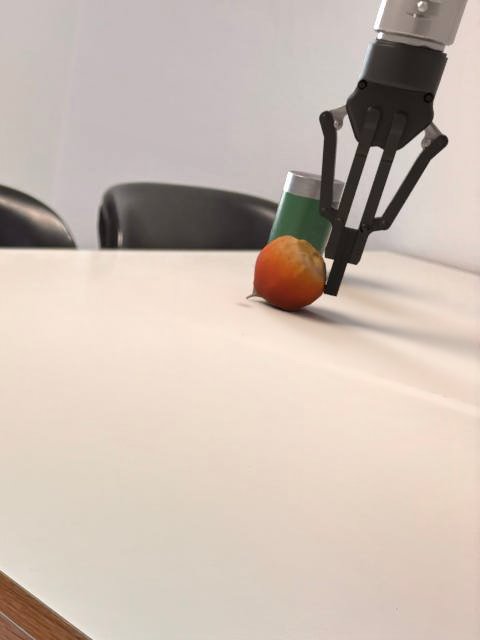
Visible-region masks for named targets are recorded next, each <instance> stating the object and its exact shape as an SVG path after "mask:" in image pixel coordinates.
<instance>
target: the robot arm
mask: <svg viewBox="0 0 480 640" xmlns="http://www.w3.org/2000/svg"><path fill="white" fill-rule="evenodd" d="M468 1H469V0H381V3H380V6H379V9H378V12H377V15H376V20H375V23H374V26H373V30H374V32H375V33H376V34H377V33H378V35H377V36H376V38H375V39H372V40H371V42H369V43H368V44H367V45H368V46H367V49H366V52H365V56H364V58H363V63H362V65H361V67H360V68H361V69H360V72H359V76H358V78H357V82H356V85H355V87H354V89H353V90H352V91H351V92H350V94H349V95H348V96H347V98H346V100H345V103H344V104H342V105H339V106H336V107H334V108H332V109H330V110H323V111H322V112H321V113H320V114H319V117H318V121H319V125H320V128H321V132H322V135H323V145H322V160H321V188H320V202H319V214H320V216H322V217H324V218H326V219H327V220H329V221H330V222H331V224H332V228H331V231H330V234H329V237H328V241H327V244H326V247H325V250H324V253H323V255H324V259H328V260H332V264H331V268H330V271H329V274H328V277H327V279H326V286H325V289H324V292H323V294H324V295H327V296H331V297H337V296H338V294H339V291H340V288H341V284H342V282H343V278H344V276H345V272H346V270H347V266H348V264H349V265H354V266H358V265H359V263H360V262H361V260H362V258H363V257H362V256H363V254H364V250H365V248H366V246H367V245H366V244H367V241H368V240H369V239H368V238H369V236H370V235H371V234H372V233H374V232H380V231H388V230H390V228H391V227H392V225H393V223H394V222H395V220H396V219H397V216H399V213H400V212H401V210H402V208H403V207H404V206H405V203H406V202H407V200H408V199H409V197H410V196H411V194H412V192H413V190H414V188H415V187H416V185H417V184H418V182H419V180H420V179H421V177H422V176H423V174H424V172H425V170H426V169H427V167H428V165H429V164H430V162H431V161H432V160H433V159H434V158H435V157H436V156H437V155H438V154H440V153H441V152H442V151H443V150H444V149H445V148H446V147H448V144H449V142H450V141H449V137H448V136H447V135H446V134H444V133H442V131H441V130H440V129H439V128H438V127H437V125H436V124H435V122H434V117H435V110H434V101H435V99H436V95H437V93H438V89H439V87H440V84H441V81H442V78H443V76H444V72H445V69H446V67H447V64H448V60H449V57H447V56H448V53H447V52H444V51H445V49H446V47H450V46H451V45H453V44H454V42H455V39H456V37H457V34H458V31H459V27H460V24H461V21H462V19H463V16H464V12H465V9H466V7H467V3H468ZM346 116H347V117H348V120H349V123H350V127H351V130H352V133H353V136H354V139H355V141H356V142H357V147H356V150H355V153H354V156H353V159H352V162H351V165H350V169H349V171H348V172H349V173H348V175H347V179H346V182H345V185H344V188H343V191H342V194H341V198H340V202H339V206H338V209H337V208H335V207H334V206H333V192H334V179H336V177H335V176H336V163H337V151H338V131H340V130H341V129H342V128H343V127H344V119H345V117H346ZM422 132H424V136H423V137H422V139H421V141H420V147H421V148H422V150H421V151H420V152H419V153H418V155H417V156H416V158H415V160H414V161H413V162H412V165H411V166H410V168H409V169H408V171H407V172H406V174H405V176H404V178H403V180H402V181H401V183H400V185H399V187H398V188H397V190H396V191H395V193H394V195H393V196H392V198H391V199H390V201H389V203H388V204H387V206H386V208H385V210H384V212H383V213H382V215H381V216H376V215H377V211H378V209H379V205H380V202H381V200H382V197H383V193H384V191H385V187H386V184H387V181H388V178H389V175H390V172H391V169H392V167H393V163H394V160H395V157H396V154H397V152H398V151H400V150H402V149H404V148H405V147H406V146H408V144H410V143H411V142H412V141H413V140H414V139H415V138H416V137H418V136H419V135H420V134H422ZM377 147H378V148H380V149H381V150H382V153H381V157H380V160H379V163H378V166H377V169H376V171H375V175H374V179H373V181H372V185H371V188H370V191H369V194H368V197H367V200H366V203H365V206H364V209H363V212H362V215H361V219H360V221H359V224H358V228H353V227H348V226H346V225H347V221H348V219H349V215H350V212H351V209H352V206H353V203H354V200H355V197H356V193H357V190H358V187H359V185H360V181H361V178H362V175H363V172H364V169H365V166H366V162H367V159H368V155H369V152H370V149H371V148H377ZM323 294H322V295H323Z"/></svg>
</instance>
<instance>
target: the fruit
mask: <svg viewBox="0 0 480 640" xmlns="http://www.w3.org/2000/svg"><path fill="white" fill-rule="evenodd" d="M252 283H253V284H252V293H251V294H250V295H248V296H245V297H246V298H245V299H246V300H248V299H250V298H254V297H255V298H256V297H257V298H261V299H263V300H265V301H266V302H267V303H268V304H271V305H272V306H274V307H277V308H280V309H282V310H285V311H287V312H292V311H297V310H300V309H301V310H302V309H303V308H305V307H308V306H310V305H312V304H313V303H315V302H316V301H317V300H318V299H320V298H321V297H322V296H323V292H324V289H325V286H326V283H327V264H326V261H325V258H324V257H323V256H322V255H321V254H320V253H319V252H318V251H317V250H316V249H315V248H314V247H313V246H312V245H311V244H310V243H309V242H307V241H306V240H299V239H296V238H294V237H293V236H289V235H287V236H282V237H279V238H277V239H275V240H274V241H272V242H271V243H270V244H268V245H267V244H266V245H265V246H264V247H263V248H262V249H261V251H260V252H259V253H258V255H257V257H256V259H255V265H254V271H253V282H252Z"/></svg>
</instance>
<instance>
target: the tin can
mask: <svg viewBox="0 0 480 640" xmlns="http://www.w3.org/2000/svg"><path fill="white" fill-rule="evenodd" d="M345 185H346V182H344V181H342V180H340V179H336V178H335V179H334V192H333V206H334V207H335V208H337V209H338V207H339V204H340V201H341V197H342V194H343V191H344V188H345ZM320 188H321V175H320V174H316V173H311V172H306V171H301V170H288V171H287V175H286V179H285V183H284V186H283V189H282V191H281V194H280V198H279V201H278V205H277V209H276V212H275V215H274V220H273V222H272V226H271V230H270V233H269V237H268V240H267V244H266V246H267V245H268V244H270V243H271V242H272V241H274V240H275V239H277V238H279V237H282V236H287V235H289V236H293V237H294V238H296V239H299V240H306V241H307V242H309V243H310V244H311V245H312V246H313V247H314V248H315V249H316V250H317V251H318V252H319V253H320V254H321V255H322V257H323V256H324V252H325V249H326V246H327V243H328V239H329V236H330V233H331V230H332V224H331V222H330V221H329V220H327V219H326V218H324V217H322V216H320V214H319V202H320Z"/></svg>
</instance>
